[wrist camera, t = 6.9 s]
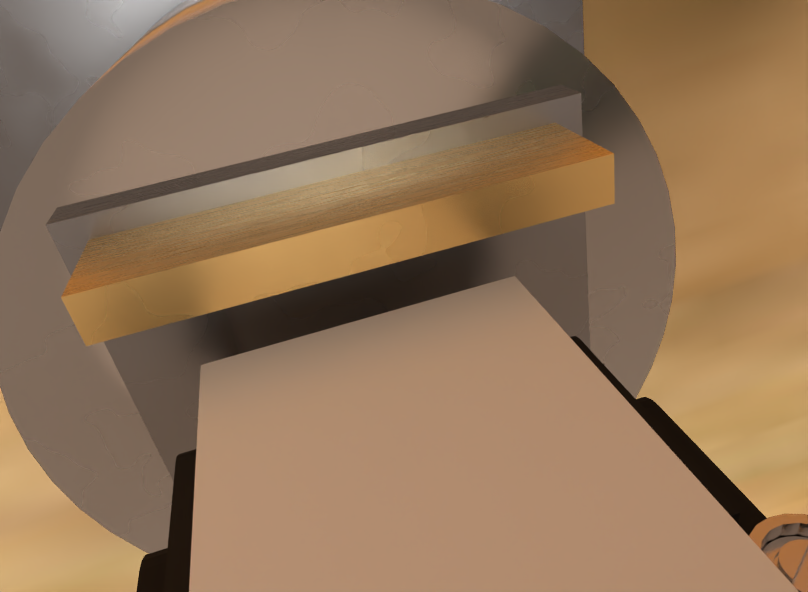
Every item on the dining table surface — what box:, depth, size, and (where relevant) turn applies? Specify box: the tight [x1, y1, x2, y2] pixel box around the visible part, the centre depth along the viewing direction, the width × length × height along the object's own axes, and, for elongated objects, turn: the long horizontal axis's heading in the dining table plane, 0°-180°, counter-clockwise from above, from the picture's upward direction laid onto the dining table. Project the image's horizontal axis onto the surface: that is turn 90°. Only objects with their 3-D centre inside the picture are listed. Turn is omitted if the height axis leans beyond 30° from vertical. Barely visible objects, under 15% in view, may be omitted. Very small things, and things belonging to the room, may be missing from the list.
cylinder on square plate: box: [0, 0, 676, 553], centre depth 17 cm, size 20×20×14 cm
